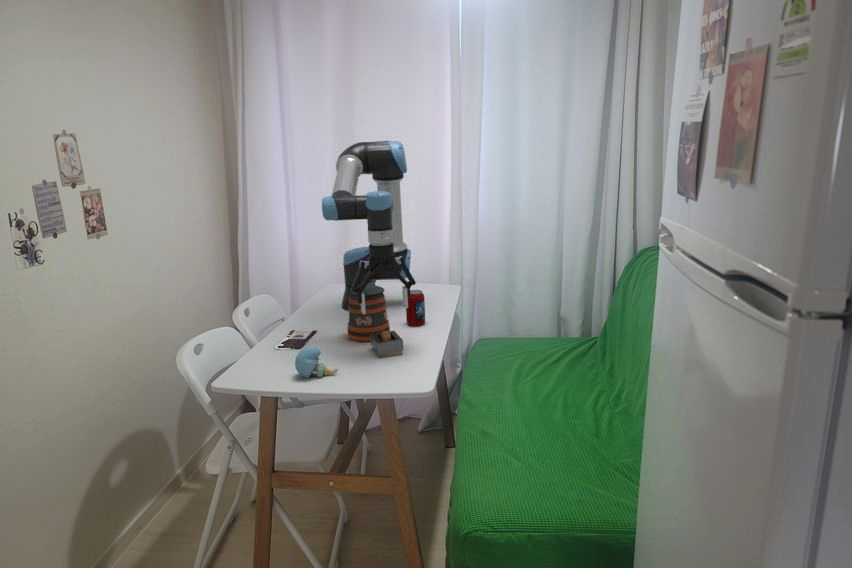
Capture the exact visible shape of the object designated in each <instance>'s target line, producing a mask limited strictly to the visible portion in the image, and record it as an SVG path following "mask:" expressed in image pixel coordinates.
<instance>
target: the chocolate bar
mask: <svg viewBox="0 0 852 568" xmlns="http://www.w3.org/2000/svg"><path fill="white" fill-rule="evenodd" d="M317 332H318V330H314V329H310V330H306V329H305V330H299V329H298V330H295V329H292V330H291V331H289V333H290V334H289V333H287V335H290V336H287V335H286V336H287V337H288V338H290V339H288V340H286V341H284V342H282V343H281V344H284V345H283V346H278V348H291V349H293V348H294V349H301V348H302V347H303V348H304V347H305V346H306V344H307V343H308V342H309V341H310V340H311V339H312V338H313V337H314V336H315V334H317ZM312 336H313V337H312ZM311 337H312V338H311ZM310 338H311V339H310ZM309 339H310V340H309ZM308 340H309V341H308ZM307 341H308V342H307ZM306 342H307V343H306ZM305 343H306V344H305ZM303 348H302V349H303ZM302 349H301V350H302Z"/></svg>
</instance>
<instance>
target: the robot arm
mask: <svg viewBox="0 0 852 568" xmlns="http://www.w3.org/2000/svg"><path fill="white" fill-rule="evenodd" d="M407 166H408V164H407V159H406V154H405V149H404V145H403V143H402V142H401V141H397V140H380V141H378V140H377V141H362V142H361V141H360V142H356V143H353V144H352V145H349V146H348V147H346V148H345V149H344V150H343V151H342V152H341V153H340V154H339V156H338V158H337V160H336V163H335V169H336V175H335V179H334V183H333V188H332V192H331V195H328V196H324V197H323V198H322V200H321V211H322V217H323V218H324V220H326V221H335V222H336V221H337V222H338V221H352V220H366V222H367V239H368V243H369V245H368V246H362V247H357V248H352V249H349V250H347V251H345V252H344V253H343V263H342V265H343V273H344V287H345V289H344V293H343V297H342V301H341V306H342V308H343V309H344V310H345V311H346V310H347V311H349V310H348V305H349V296H350V291H352V292H355V293H357V301H358V303H359V304H360V303H361V312H362V313H363V314H366V311H365V296H364V293H363V292H362V291H363V290H364V289H365V287H366V286H367V284H368V283H369V282H370V280H371V279H376V281H387V280H388V281H389V280H392V281H393V280H397V281H398V280H399V281H400V282H401V283H402V284H403V286H402V287H401V288H402V305H403V307H404V308H405V309H406V308H408V297H410V290H411V288H412V286H413V285H414V286H415V285H416V284H417V282H416V281H415V280H416V279H415V278H414V276H413V275H412V273H411V272H410V270H411V259H412V258H411V257H412V256H411V254H412V250H411V249H409V248H408V245H407V244H406V243H405V242H404V236H403V235H404V234H403V221H402V220H403V217H402V216H403V215H402V199H401V182H402V180H403V179H404V178H405V175H404V174H407V172H408V167H407ZM361 175H372V176H371V177H372V180H373V182H375V183H376V186H377V187H376V189H377V190H375V191H369V192H368V193H366V195H365V194H364V195H356V193H357V188H358V183H359V177H360V176H361ZM367 273H368V274H367ZM406 279H407V280H408V281H407V280H406ZM357 287H358V288H357Z"/></svg>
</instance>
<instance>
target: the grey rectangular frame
mask: <svg viewBox="0 0 852 568" xmlns="http://www.w3.org/2000/svg"><path fill="white" fill-rule="evenodd" d="M389 332H390V334H391V340H389V341H382V333H374V334H370V339H371V342H370V345H371V347H373V348H374V349H375V350H374V349H373V348H372V349H373V350H374V352H375V351H376V352H377V353H378V354H385V353H392V352H399V351H402V352H404V339H403V338H402V337H401V336H400V335H399V334H398V333H397V332H396V331H395V330H390V331H389ZM376 352H375V353H376ZM377 353H376V354H377ZM378 354H377V355H378Z"/></svg>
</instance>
